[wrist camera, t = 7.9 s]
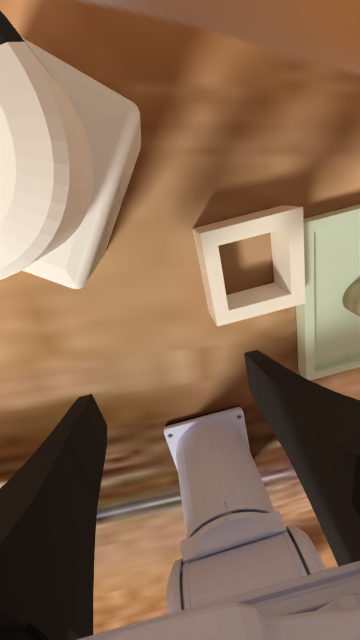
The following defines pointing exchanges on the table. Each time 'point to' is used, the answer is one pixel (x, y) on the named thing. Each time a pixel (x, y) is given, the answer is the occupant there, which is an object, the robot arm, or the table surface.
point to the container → (59, 163)
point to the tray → (329, 294)
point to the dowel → (352, 298)
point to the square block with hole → (285, 256)
